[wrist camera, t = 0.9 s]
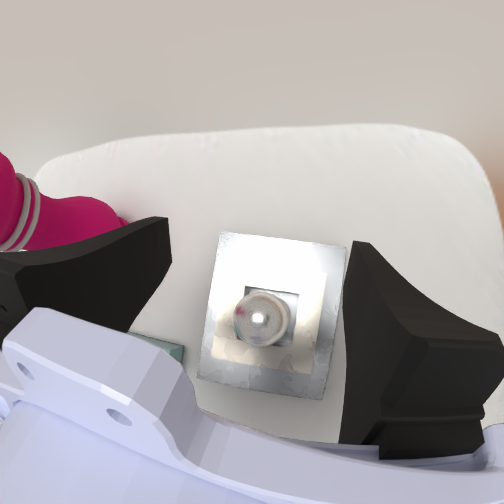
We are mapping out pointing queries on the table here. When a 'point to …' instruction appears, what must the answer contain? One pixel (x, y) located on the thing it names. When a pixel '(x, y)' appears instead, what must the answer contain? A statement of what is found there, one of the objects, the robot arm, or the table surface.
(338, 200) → the table surface
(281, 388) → the hitch plate
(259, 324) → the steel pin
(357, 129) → the table surface
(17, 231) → the pepper mill
